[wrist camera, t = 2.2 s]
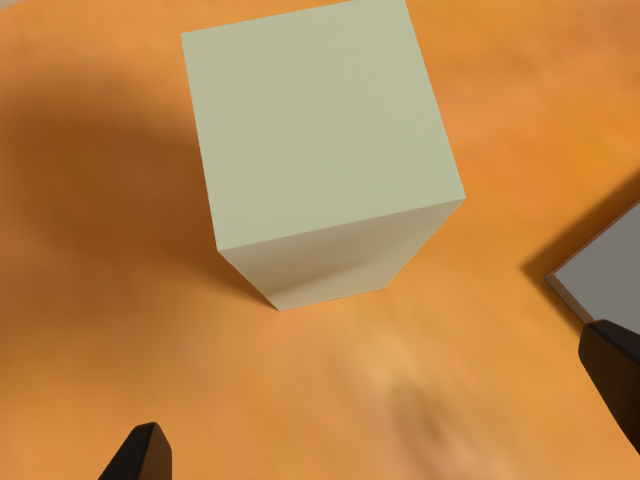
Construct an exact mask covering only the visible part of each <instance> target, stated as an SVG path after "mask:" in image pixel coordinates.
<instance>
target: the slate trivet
mask: <svg viewBox="0 0 640 480" xmlns="http://www.w3.org/2000/svg"><path fill="white" fill-rule="evenodd" d="M544 279H545V280H546V281H547V282H548V283H549V285H550V286H551V287H552V288H553V289H554V290H555V291H556V292H557V294H558V295H559V296H560V297H561V298H562V299H563V300H564V301H565V303H566V304H567V305H568V306H569V307H570V308H571V309H572V310H573V312H574V313H575V314H576V315H577V316H578V317H579V318H580V319H581V320H582V322H583V323H584V324H585V323H587V322H591V321H595V320H599V319H606V320H609V321H611V322H613V323H616V324H618V325H620V326H622V327H624V328H627V329H629V330H631V331H633V332H635V333H638V334H640V198H639V199H638V200H637V201H636V202H634V203H633V204H632V205H631V206H630V207H628V208H627V209H626V210H625V211H624V212H622V213H621V214H620V215H619V216H618V217H616V218H615V219H614V220H613V221H611V222H610V223H609V224H608V225H607V226H605V227H604V228H603V229H602V230H601V231H599V232H598V233H597V234H596V235H595V236H593V237H592V238H591V239H590V240H589V241H587V242H586V243H585V244H584V245H582V246H581V247H580V248H579V249H578V250H576V251H575V252H574V253H573V254H572V255H570V256H569V257H568V258H567V259H566V260H564V261H563V262H562V263H561V264H560V265H558V266H557V267H556V268H555V269H553V270H552V271H551V272H550V273H549V274H547V275H546V276H545V277H544Z"/></svg>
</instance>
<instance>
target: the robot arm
mask: <svg viewBox="0 0 640 480" xmlns="http://www.w3.org/2000/svg"><path fill="white" fill-rule="evenodd" d="M578 354H579V358H580V361H581V363H582V364H583V366H584V368H585V369H586V371H587V373H588V375H589V376H590V378H591V380H592V381H593V383H594V385H595V387H596V388H597V390H598V392H599V393H600V395H601V397H602V398H603V400H604V402H605V404H606V405H607V407H608V409H609V410H610V412H611V414H612V416H613V417H614V419H615V420H616V422H617V424H618V425H619V427H620V428H621V430H622V431H623V433H624V434H625V435H626V437H627V438H628V440H629V441H630V442H631V444H632V445H633V447H634V448H635V449H636V451H637V452H638V453H639V455H640V334H638V333H635V332H633V331H631V330H629V329H627V328H624V327H622V326H620V325H618V324H616V323H613V322H611V321H609V320H606V319H599V320H595V321H591V322H587V323H585V324H584V325H583V327H582V332H581V337H580V342H579V348H578ZM98 480H172V451H171V447H170V445H169V443H168V441H167V439H166V437H165V435H164V433H163V432H162V430H161V428H160V426H159V425H158V424H157V423H156V422H150V423H146V424H142V425H138V426H136V427H135V428H134V429H133V430H132V431H131V433H130V434H129V435H128V437H127V438H126V440H125V441H124V443H123V444H122V446H121V447H120V448H119V450H118V451H117V453H116V454H115V456H114V457H113V458H112V460H111V461H110V463H109V464H108V466H107V467H106V469H105V470H104V471H103V473H102V474H101V476H100V477H99V479H98Z"/></svg>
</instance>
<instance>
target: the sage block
mask: <svg viewBox="0 0 640 480" xmlns="http://www.w3.org/2000/svg"><path fill="white" fill-rule="evenodd" d="M181 39H182V45H183V51H184V57H185V63H186V69H187V74H188V80H189V86H190V92H191V98H192V104H193V110H194V116H195V122H196V128H197V133H198V139H199V145H200V151H201V157H202V163H203V169H204V175H205V181H206V187H207V192H208V198H209V204H210V210H211V216H212V222H213V228H214V234H215V240H216V246H217V251H218V252H219V253H220V254H221V255H222V256H223V257H224V258H225V259H226V260H227V261H228V262H229V263H230V264H231V265H232V266H233V267H234V268H235V269H236V270H237V271H238V272H239V273H240V274H242V275H243V276H244V277H245V278H246V279H247V280H248V281H249V282H250V283H251V284H252V285H253V286H254V287H255V288H256V289H257V290H258V291H259V292H260V293H261V294H262V295H263V296H264V297H265V298H266V299H267V300H268V301H269V302H270V303H271V304H272V305H274V306H275V307H276V308H277V309H278V310H279V311H284V310H289V309H293V308H298V307H302V306H307V305H311V304H316V303H321V302H325V301H330V300H334V299H339V298H343V297H348V296H352V295H357V294H361V293H366V292H370V291H375V290H379V289H384V288H385V287H386V286H387V284H388V283H389V282H390V281H391V280H392V279H393V278H394V277H395V276H396V275H397V273H398V272H399V271H400V270H401V269H402V268H403V267H404V266H405V265H406V264H407V262H408V261H409V260H410V259H411V258H412V257H413V256H414V255H415V254H416V253H417V252H418V250H419V249H420V248H421V247H422V246H423V245H424V244H425V243H426V242H427V241H428V239H429V238H430V237H431V236H432V235H433V234H434V233H435V232H436V231H437V230H438V228H439V227H440V226H441V225H442V224H443V223H444V222H445V221H446V220H447V219H448V217H449V216H450V215H451V214H452V213H453V212H454V211H455V210H456V209H457V208H458V206H459V205H460V204H461V203H462V202H463V201H464V200H465V199H466V196H465V193H464V190H463V186H462V183H461V180H460V177H459V173H458V170H457V167H456V164H455V161H454V157H453V154H452V151H451V148H450V145H449V141H448V138H447V135H446V132H445V128H444V125H443V122H442V119H441V116H440V112H439V109H438V106H437V103H436V100H435V96H434V93H433V90H432V87H431V84H430V80H429V77H428V74H427V71H426V67H425V64H424V61H423V58H422V55H421V51H420V48H419V45H418V42H417V39H416V35H415V32H414V29H413V26H412V23H411V19H410V16H409V13H408V10H407V6H406V3H405V0H353V1H348V2H342V3H337V4H332V5H327V6H322V7H316V8H311V9H306V10H301V11H296V12H290V13H285V14H280V15H275V16H270V17H264V18H259V19H254V20H249V21H243V22H238V23H233V24H228V25H223V26H217V27H212V28H207V29H202V30H197V31H191V32H186V33H181Z"/></svg>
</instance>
